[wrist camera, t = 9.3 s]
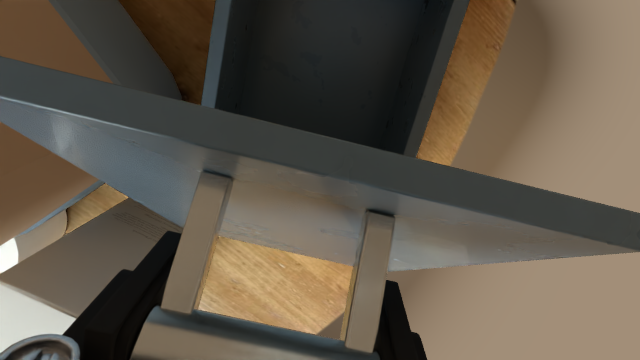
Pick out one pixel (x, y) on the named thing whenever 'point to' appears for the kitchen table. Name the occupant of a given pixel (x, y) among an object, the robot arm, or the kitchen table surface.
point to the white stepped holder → (32, 241)
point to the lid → (289, 207)
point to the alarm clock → (77, 58)
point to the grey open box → (334, 65)
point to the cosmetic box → (75, 271)
